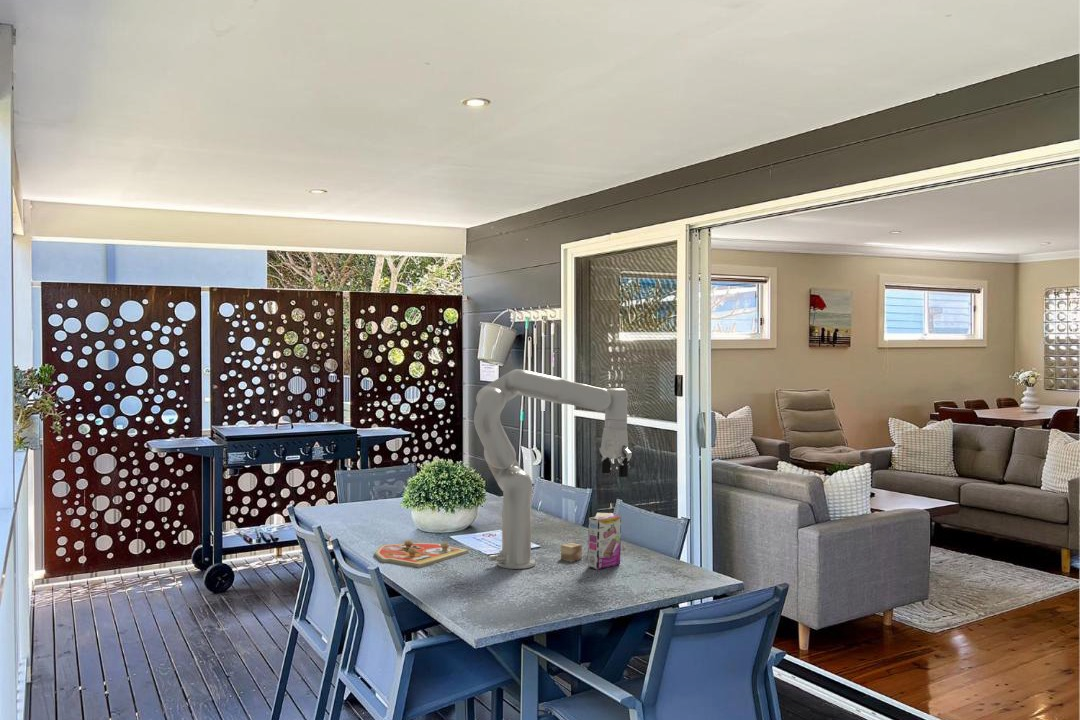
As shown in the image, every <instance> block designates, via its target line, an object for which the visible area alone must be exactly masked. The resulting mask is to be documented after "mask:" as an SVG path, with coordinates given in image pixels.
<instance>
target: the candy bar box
mask: <svg viewBox="0 0 1080 720" xmlns="http://www.w3.org/2000/svg"><path fill="white" fill-rule="evenodd" d="M621 533H622V516H620V515H618V514H617V515H616V514H609V515H603V516H597V517H595V516H593V517H588V537H587V542H588V543H587V567H588V568H590V569H593V570H597V571H598V570H602V568H603V569H606V567H607V568H611V567H614V566H613V565H615V566H618V565H617V564H620V565H621V540H622V539H621V536H622V534H621ZM610 566H611V567H610Z"/></svg>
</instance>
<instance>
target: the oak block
mask: <svg viewBox="0 0 1080 720" xmlns="http://www.w3.org/2000/svg"><path fill="white" fill-rule="evenodd" d="M582 547H583V546H582V544H578V543H574V542H569V543H564V544H561V545H560V560H562V559H565V560H564V561H566V560H568V561H567V562H570V561H573V562H576V561H575V560H577V561H580V560H579V559H582V558H583V556H582V555H583V554H582V553H583V551H582V550H583V549H582Z"/></svg>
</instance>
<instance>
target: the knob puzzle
mask: <svg viewBox="0 0 1080 720" xmlns="http://www.w3.org/2000/svg"><path fill="white" fill-rule="evenodd" d="M374 552H375V555H374V556H375V558H376V559H377V560H378V561H380V562H381V563H384V564H395V565H401V566H407V567H413V568H417V569H422V568H425V567H428V566H431V565H435V564H438V563H440V562H444V561H447V560H450V559H454V558H457V557H460V556H462V555H466V554H469V549H465V548H459V547H456V546H455V547H453V546H450V544H449V543H448V542H442V543H435V542H434V543H433V542H431V543H430V542H413V540H411V539H407V540H405V541H404V543H392V544H391V543H390V544H389V543H388V544H382V545H380V546H379V547H378V548H377V549H376V551H374Z"/></svg>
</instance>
